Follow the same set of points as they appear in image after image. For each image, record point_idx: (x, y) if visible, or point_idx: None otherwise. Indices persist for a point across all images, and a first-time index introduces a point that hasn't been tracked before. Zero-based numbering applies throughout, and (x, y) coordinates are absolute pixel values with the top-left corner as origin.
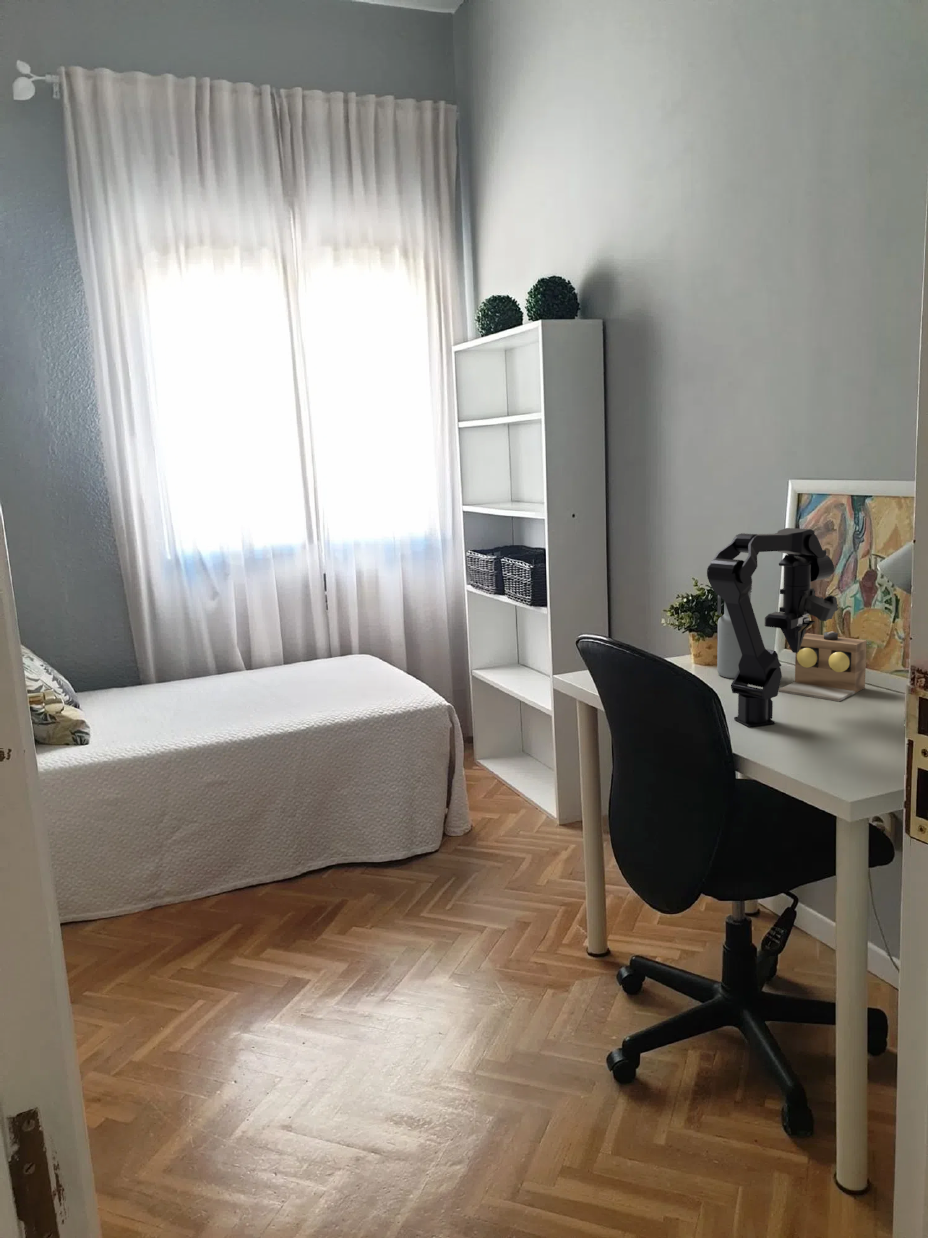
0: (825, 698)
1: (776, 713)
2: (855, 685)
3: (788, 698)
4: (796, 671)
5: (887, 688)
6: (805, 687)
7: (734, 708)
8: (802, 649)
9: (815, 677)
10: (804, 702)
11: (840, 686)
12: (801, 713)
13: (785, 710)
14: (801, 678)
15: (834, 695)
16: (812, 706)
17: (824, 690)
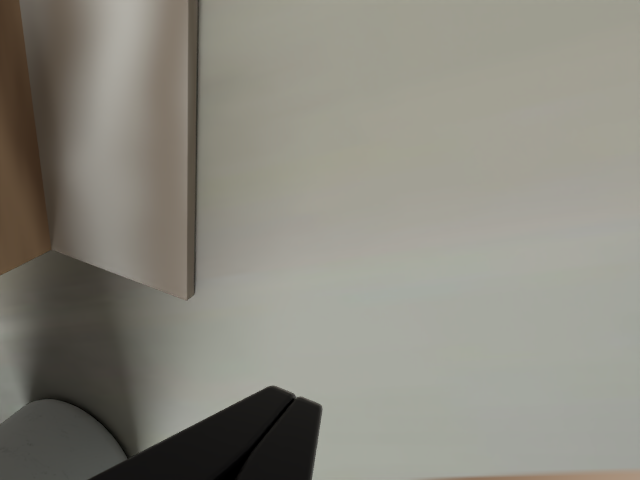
0: (193, 43)
1: (637, 249)
2: None
3: (277, 234)
4: (5, 266)
5: None
6: (96, 189)
7: (597, 469)
8: None
9: (4, 165)
10: (310, 140)
11: (7, 15)
12: (577, 96)
13: (536, 209)
14: (28, 229)
15: (139, 2)
16: (372, 73)
17: (88, 86)
